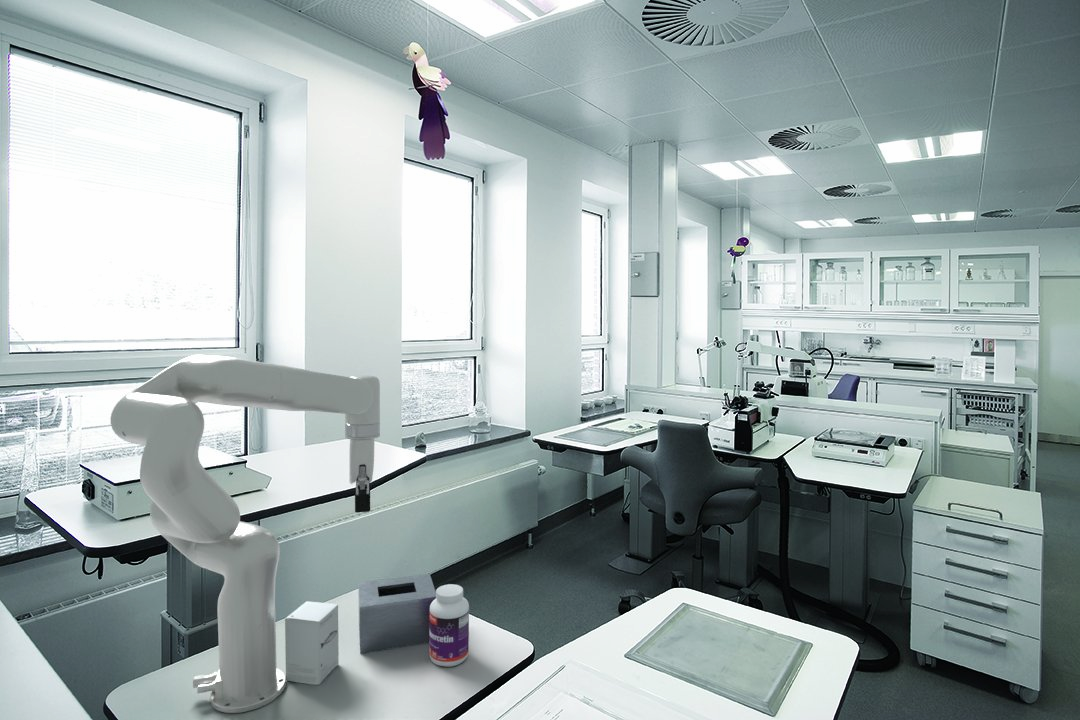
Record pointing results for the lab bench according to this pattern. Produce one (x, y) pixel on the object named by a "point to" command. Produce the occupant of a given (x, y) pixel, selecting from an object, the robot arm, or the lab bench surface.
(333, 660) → the supplement box
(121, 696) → the lab bench surface
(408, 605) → the grey slotted box
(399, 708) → the lab bench surface
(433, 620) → the pill bottle
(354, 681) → the lab bench surface
